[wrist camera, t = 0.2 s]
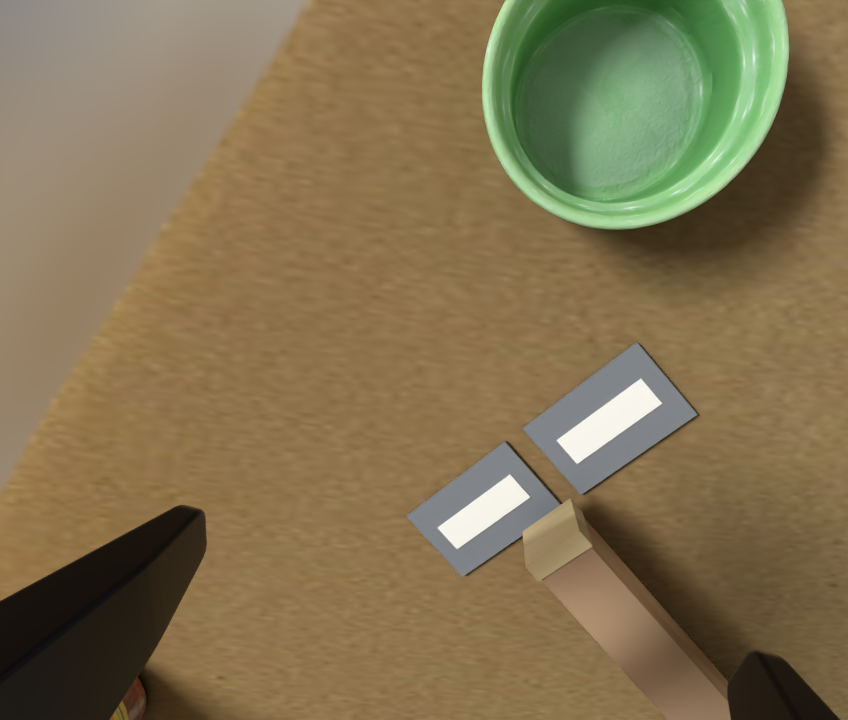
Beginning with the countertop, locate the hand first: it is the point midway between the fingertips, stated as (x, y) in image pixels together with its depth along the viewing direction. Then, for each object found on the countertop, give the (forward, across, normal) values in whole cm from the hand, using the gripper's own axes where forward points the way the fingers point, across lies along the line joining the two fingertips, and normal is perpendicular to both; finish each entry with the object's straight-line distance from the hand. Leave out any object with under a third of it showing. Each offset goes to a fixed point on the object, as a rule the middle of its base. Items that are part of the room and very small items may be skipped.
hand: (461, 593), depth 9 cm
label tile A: (+13, -2, +10) cm, 16 cm away
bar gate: (+11, -9, +12) cm, 19 cm away
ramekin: (+17, -2, -7) cm, 19 cm away
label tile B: (+14, -6, +4) cm, 16 cm away
